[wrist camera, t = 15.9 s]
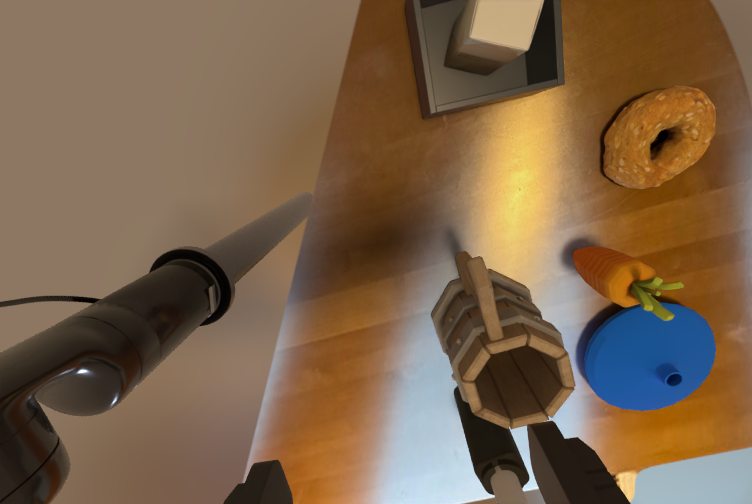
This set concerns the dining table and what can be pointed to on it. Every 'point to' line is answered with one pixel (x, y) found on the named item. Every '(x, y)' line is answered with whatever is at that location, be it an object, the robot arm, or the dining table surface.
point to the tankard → (501, 347)
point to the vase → (649, 357)
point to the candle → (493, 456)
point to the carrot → (622, 279)
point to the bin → (470, 90)
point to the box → (491, 34)
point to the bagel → (642, 125)
